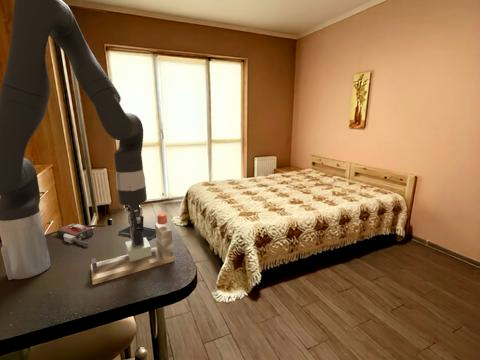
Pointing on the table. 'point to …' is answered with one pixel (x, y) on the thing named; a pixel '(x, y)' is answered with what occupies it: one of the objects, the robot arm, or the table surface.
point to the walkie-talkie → (75, 233)
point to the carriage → (137, 248)
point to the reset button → (162, 218)
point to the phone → (147, 232)
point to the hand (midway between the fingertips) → (137, 241)
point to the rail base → (125, 266)
